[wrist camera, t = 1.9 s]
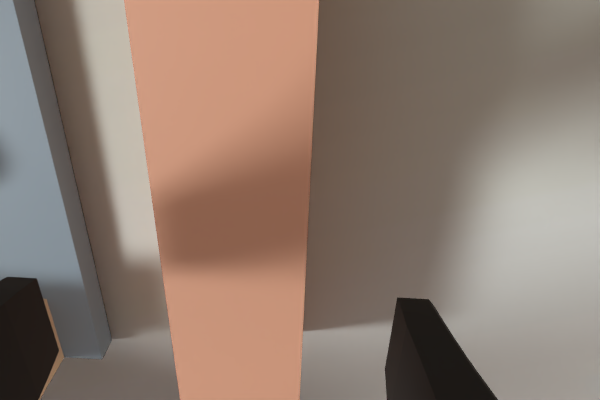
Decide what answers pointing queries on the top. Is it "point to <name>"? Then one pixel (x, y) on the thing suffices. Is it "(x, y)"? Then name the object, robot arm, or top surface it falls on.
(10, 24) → the stand
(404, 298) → the robot arm
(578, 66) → the top surface
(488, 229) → the top surface
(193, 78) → the terracotta bar
